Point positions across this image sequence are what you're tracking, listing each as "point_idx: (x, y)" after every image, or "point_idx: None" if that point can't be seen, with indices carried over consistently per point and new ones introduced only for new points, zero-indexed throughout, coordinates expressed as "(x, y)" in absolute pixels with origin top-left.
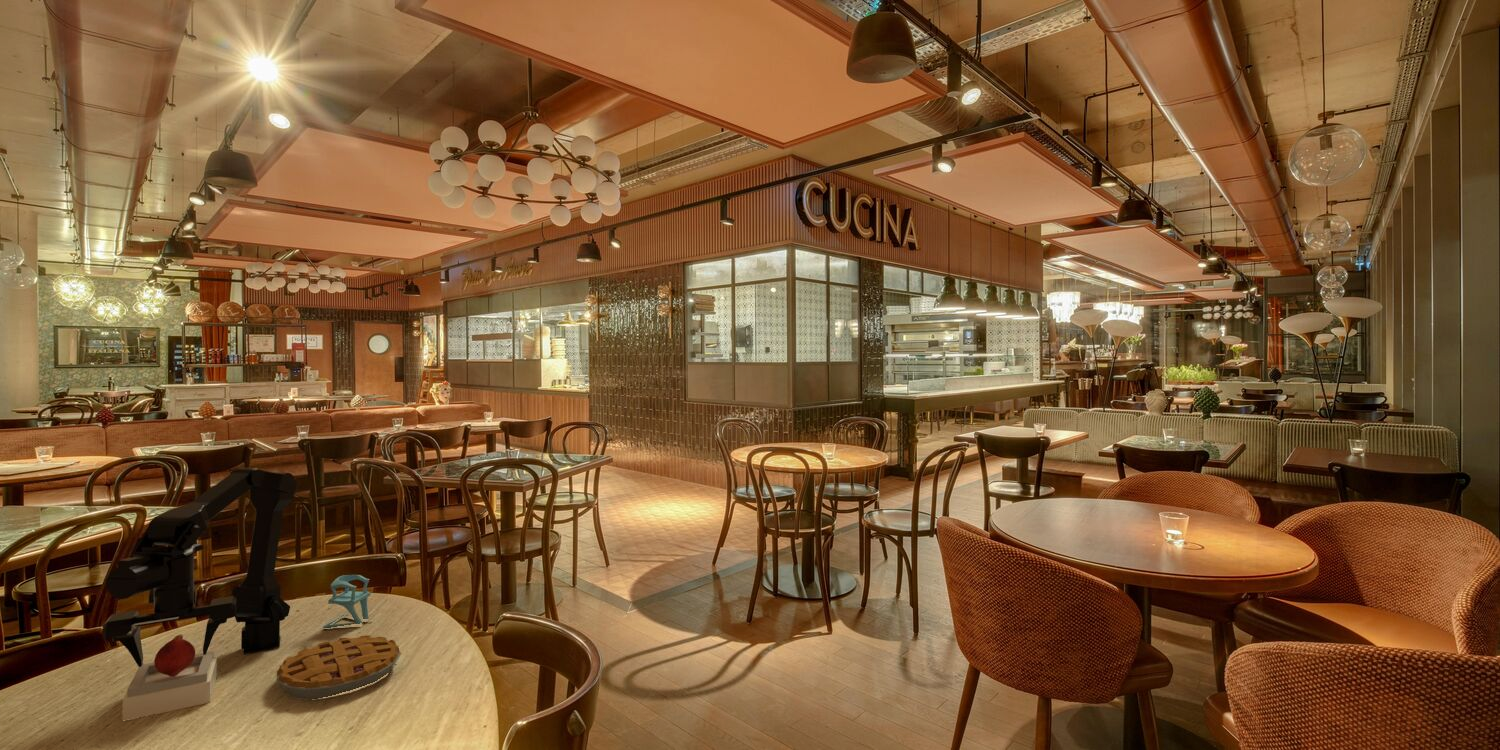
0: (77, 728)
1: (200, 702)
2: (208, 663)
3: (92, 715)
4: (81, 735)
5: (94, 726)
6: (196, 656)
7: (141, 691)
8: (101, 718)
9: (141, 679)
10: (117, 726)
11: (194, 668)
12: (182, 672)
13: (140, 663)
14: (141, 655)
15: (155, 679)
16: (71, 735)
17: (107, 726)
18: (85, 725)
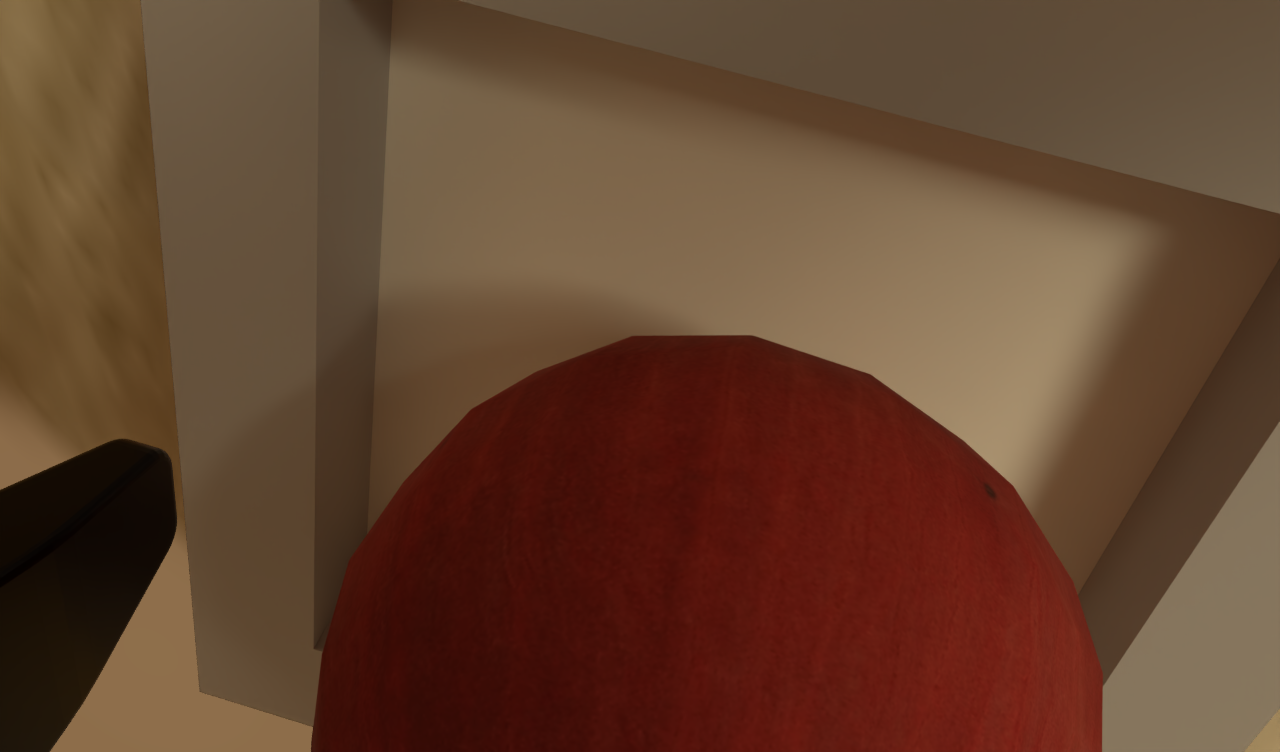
0: (3, 276)
1: None
2: (1252, 704)
3: (26, 45)
4: (90, 444)
5: (136, 349)
6: (1277, 146)
7: None
8: (143, 209)
9: (301, 524)
10: None
11: (1107, 310)
12: (895, 340)
13: (119, 612)
14: (12, 705)
15: (511, 310)
16: (11, 384)
17: None
18: (49, 263)
